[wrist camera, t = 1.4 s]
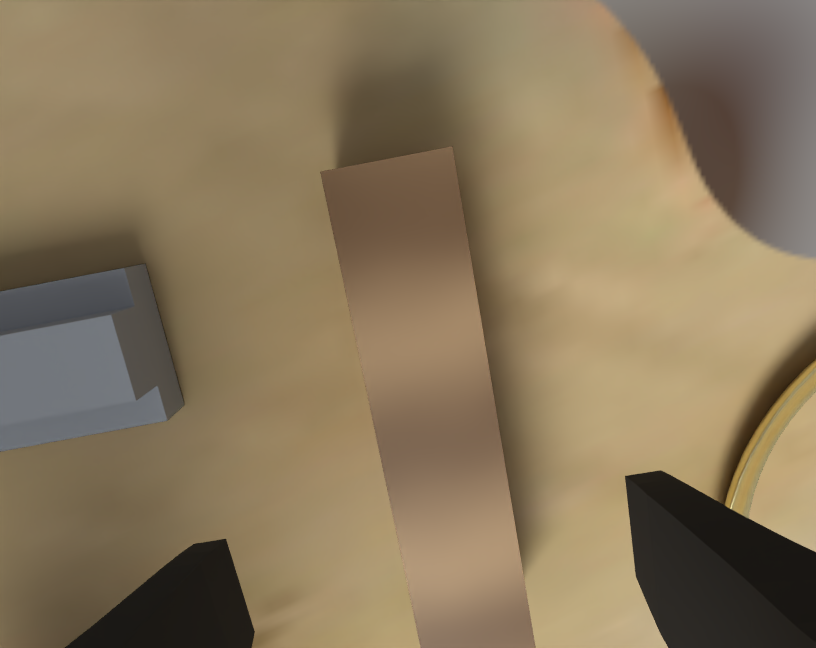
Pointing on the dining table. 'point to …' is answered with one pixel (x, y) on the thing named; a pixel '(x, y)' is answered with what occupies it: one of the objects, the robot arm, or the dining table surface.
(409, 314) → the beam
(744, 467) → the serving platter
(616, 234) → the dining table surface
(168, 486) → the dining table surface
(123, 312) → the fulcrum
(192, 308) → the dining table surface
